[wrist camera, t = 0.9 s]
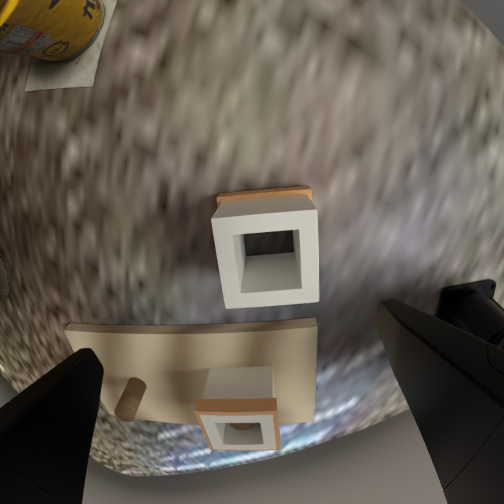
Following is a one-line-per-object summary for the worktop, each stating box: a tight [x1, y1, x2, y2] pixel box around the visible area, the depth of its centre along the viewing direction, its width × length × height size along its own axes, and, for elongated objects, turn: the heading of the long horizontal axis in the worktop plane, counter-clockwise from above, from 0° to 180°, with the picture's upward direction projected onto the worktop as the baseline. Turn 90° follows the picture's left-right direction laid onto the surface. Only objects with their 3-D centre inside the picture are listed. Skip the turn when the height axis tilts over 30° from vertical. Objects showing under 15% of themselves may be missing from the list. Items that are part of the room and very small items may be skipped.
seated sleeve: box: [194, 365, 280, 451], centre depth 21 cm, size 6×6×5 cm
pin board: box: [64, 318, 318, 430], centre depth 22 cm, size 22×12×5 cm, turn 96°
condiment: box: [0, 0, 117, 91], centre depth 9 cm, size 7×8×12 cm
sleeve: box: [211, 186, 319, 309], centre depth 17 cm, size 6×6×5 cm
